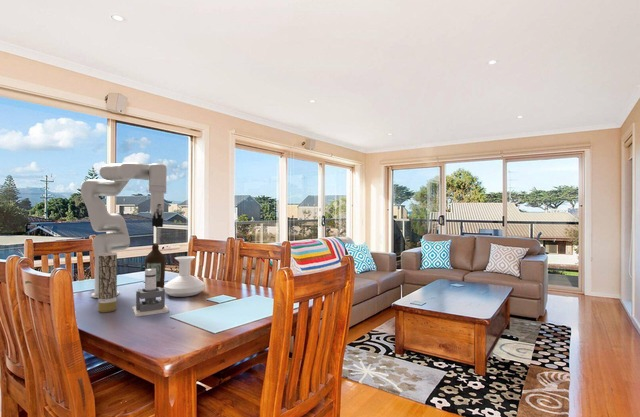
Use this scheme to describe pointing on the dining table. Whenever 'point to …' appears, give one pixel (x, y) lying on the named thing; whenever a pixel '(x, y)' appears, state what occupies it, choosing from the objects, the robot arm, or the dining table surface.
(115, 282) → the bark-patterned cylinder
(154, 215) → the robot arm
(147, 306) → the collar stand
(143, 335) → the dining table surface
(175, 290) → the white vase
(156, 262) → the olive oil
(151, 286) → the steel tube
